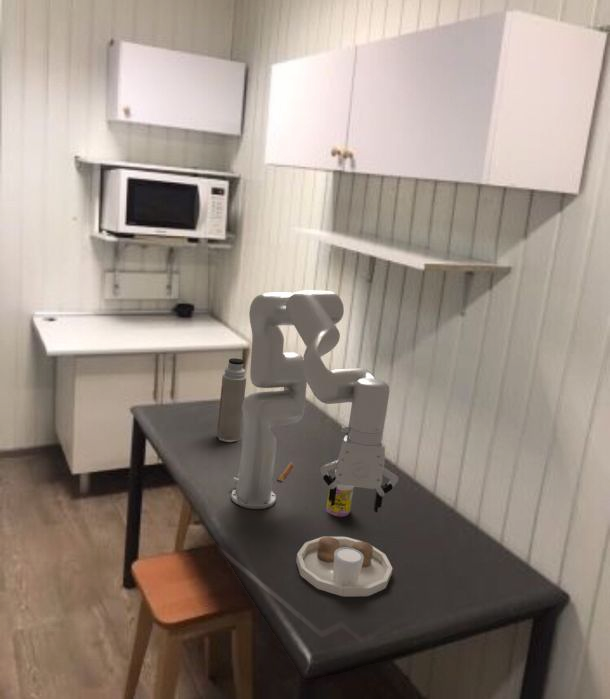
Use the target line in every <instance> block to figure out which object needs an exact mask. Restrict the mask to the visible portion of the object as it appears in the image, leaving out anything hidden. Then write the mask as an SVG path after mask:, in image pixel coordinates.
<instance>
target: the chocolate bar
mask: <svg viewBox="0 0 610 699" xmlns="http://www.w3.org/2000/svg"><path fill="white" fill-rule="evenodd" d="M293 467H294V464H293V462H292V461H290V462H289V463H288V465H287V466H286V467H285V469H283V471H282V472H281V474H280V475H279V476H280V477H279V476H278V477H277V479H276V480H280V481H283V480H284V478H285V477H286V476H287V475H288V476H289V474H290V473H291V472H292V470H293V469H294V468H293ZM292 468H293V469H292ZM291 469H292V470H291ZM290 471H291V472H290ZM289 472H290V473H289ZM288 473H289V474H288ZM288 476H287V477H288ZM287 477H286V478H287ZM280 481H279V482H280ZM284 481H285V480H284ZM284 481H283V482H284Z"/></svg>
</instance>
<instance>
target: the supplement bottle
mask: <svg viewBox="0 0 610 699" xmlns="http://www.w3.org/2000/svg"><path fill="white" fill-rule="evenodd" d="M335 475H336V469H334V476H335ZM354 488H355V487H354V486H347V485H342V484H339V485H337V489H336V497H335V503H334V506H331V500H329V492H330V488H329V487H328V495H327V501H326V508H325V510H326V512H327V513H328V514H330V515H333V516H335V517H346V516H348V515H349V514H350V512H351V509H352V508H351V507H352V500H353V494H354Z"/></svg>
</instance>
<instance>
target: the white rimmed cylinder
mask: <svg viewBox="0 0 610 699" xmlns="http://www.w3.org/2000/svg"><path fill="white" fill-rule="evenodd" d="M363 560H364V556H363V554H362V553H361V552H360V551H358V550H356V549H353V548H348V547H343V548H339V549H337V550H336V551H335V552H334V569H333V582H334V583H336V584H339V585H343V586H357V583H358V579H359V575H360V571H361V568H362V564H363Z"/></svg>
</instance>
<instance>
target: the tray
mask: <svg viewBox="0 0 610 699" xmlns="http://www.w3.org/2000/svg"><path fill="white" fill-rule="evenodd" d="M322 537H323V536H321V537H320V536H319V537H318V538H315V539H313V540H308V541H305V542H304V544H303V545H302V546H301V547H300V549H299V550H298V552H297V554H296V560H295V561H296V565H297V569H298V572H299V575H300V577H302V578H303V579H304V580H306V581H307V582H308V583H309V584H311V585H312V586H313V587H314V588H316V589H317V590H321V591H324V592H327V593H330V594H333V595H336V596H340V597H354V598H355V597H370V596H372V595H374V594H377V593H378V592H381V591H383V590H385V589H387V587H388V584H389V581H390V580H391V576H392V573H393V566H392V565H391V562H390V560H389V559H388V557H387V555H386V553H384V552H383V551H381V550H380V549H378V548H376V547H375V546H373V545H371V544H370V543H368V542H367V543H368V544H370V545H371V546H372V547H373V552H372V558H371V564H370V566H368V567H362V568H361V571H360V575H359V579H358V583H357V586H343V585H339V584H336V583H334V582H333V569H334V562H324V561H321V560H320V559H319V558H318V557H317V553H318V546H319V540H320V539H321V538H322ZM331 537H332V538H335V539H337V540H338V541H339V543H340V545H339V548H343V547H348V548H352V545H353V543H355V542H363V541H362V540H359V539H355V538H351V537H348V536H331Z"/></svg>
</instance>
